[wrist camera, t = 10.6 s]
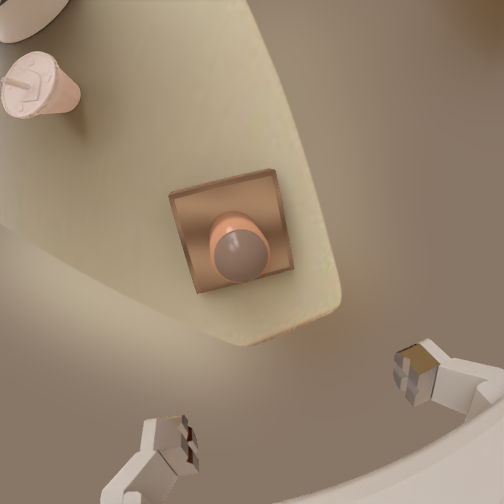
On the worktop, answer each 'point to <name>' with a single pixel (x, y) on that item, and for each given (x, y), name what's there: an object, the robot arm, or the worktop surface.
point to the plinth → (224, 200)
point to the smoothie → (38, 87)
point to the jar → (237, 247)
